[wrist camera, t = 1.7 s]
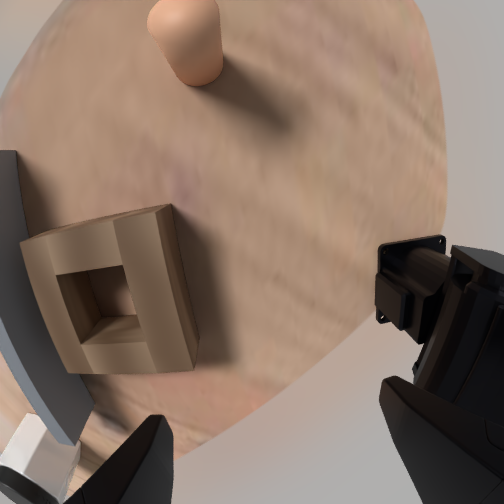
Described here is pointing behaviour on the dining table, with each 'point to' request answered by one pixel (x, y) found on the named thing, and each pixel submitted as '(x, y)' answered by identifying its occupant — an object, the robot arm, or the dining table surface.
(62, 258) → the block
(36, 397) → the bar
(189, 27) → the dowel
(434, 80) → the dining table surface
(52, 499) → the jar
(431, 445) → the robot arm
